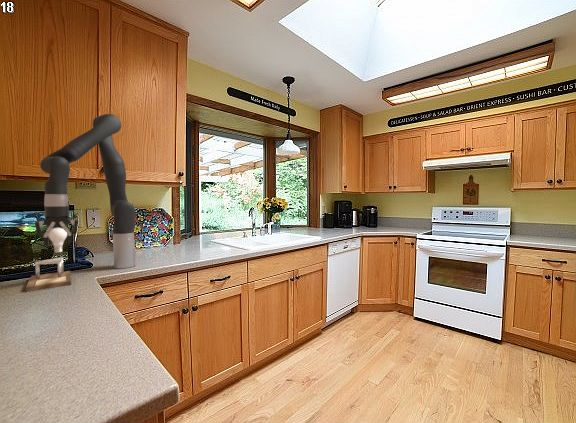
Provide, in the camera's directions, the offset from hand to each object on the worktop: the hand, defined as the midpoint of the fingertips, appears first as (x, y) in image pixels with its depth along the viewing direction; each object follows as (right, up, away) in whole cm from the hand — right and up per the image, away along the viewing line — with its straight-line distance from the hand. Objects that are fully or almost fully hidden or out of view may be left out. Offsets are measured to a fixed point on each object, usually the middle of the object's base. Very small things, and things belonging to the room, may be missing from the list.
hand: (58, 245), depth 113 cm
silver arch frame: (-5, -14, +2) cm, 15 cm away
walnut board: (-3, -15, -1) cm, 15 cm away
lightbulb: (0, -3, 0) cm, 3 cm away
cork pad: (+2, -14, -5) cm, 15 cm away
